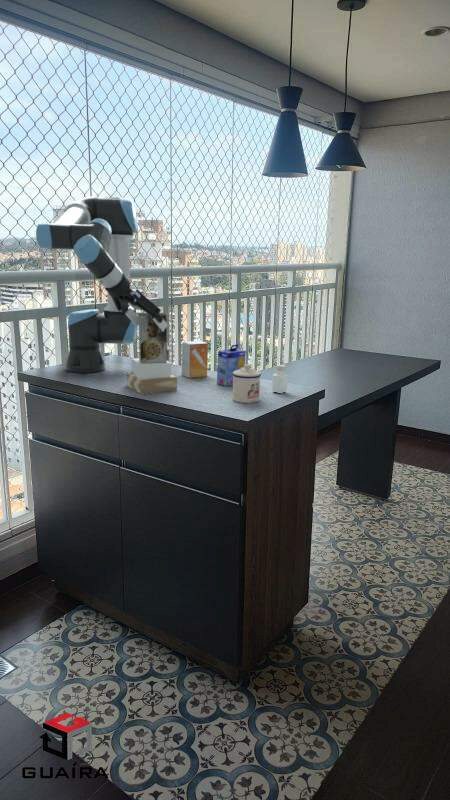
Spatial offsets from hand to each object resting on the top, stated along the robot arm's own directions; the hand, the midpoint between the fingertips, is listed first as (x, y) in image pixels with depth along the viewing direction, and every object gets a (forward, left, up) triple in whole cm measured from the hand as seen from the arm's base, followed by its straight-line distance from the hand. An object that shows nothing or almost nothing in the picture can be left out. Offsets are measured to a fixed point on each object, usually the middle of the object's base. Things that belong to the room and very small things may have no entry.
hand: (151, 325), depth 186 cm
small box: (-13, +24, -22) cm, 35 cm away
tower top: (-2, +1, -17) cm, 17 cm away
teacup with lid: (+26, +23, -22) cm, 41 cm away
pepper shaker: (+23, +38, -22) cm, 49 cm away
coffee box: (-1, +1, -12) cm, 12 cm away
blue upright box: (+4, +30, -22) cm, 37 cm away
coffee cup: (-22, +13, -22) cm, 34 cm away
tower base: (-2, +1, -22) cm, 22 cm away
